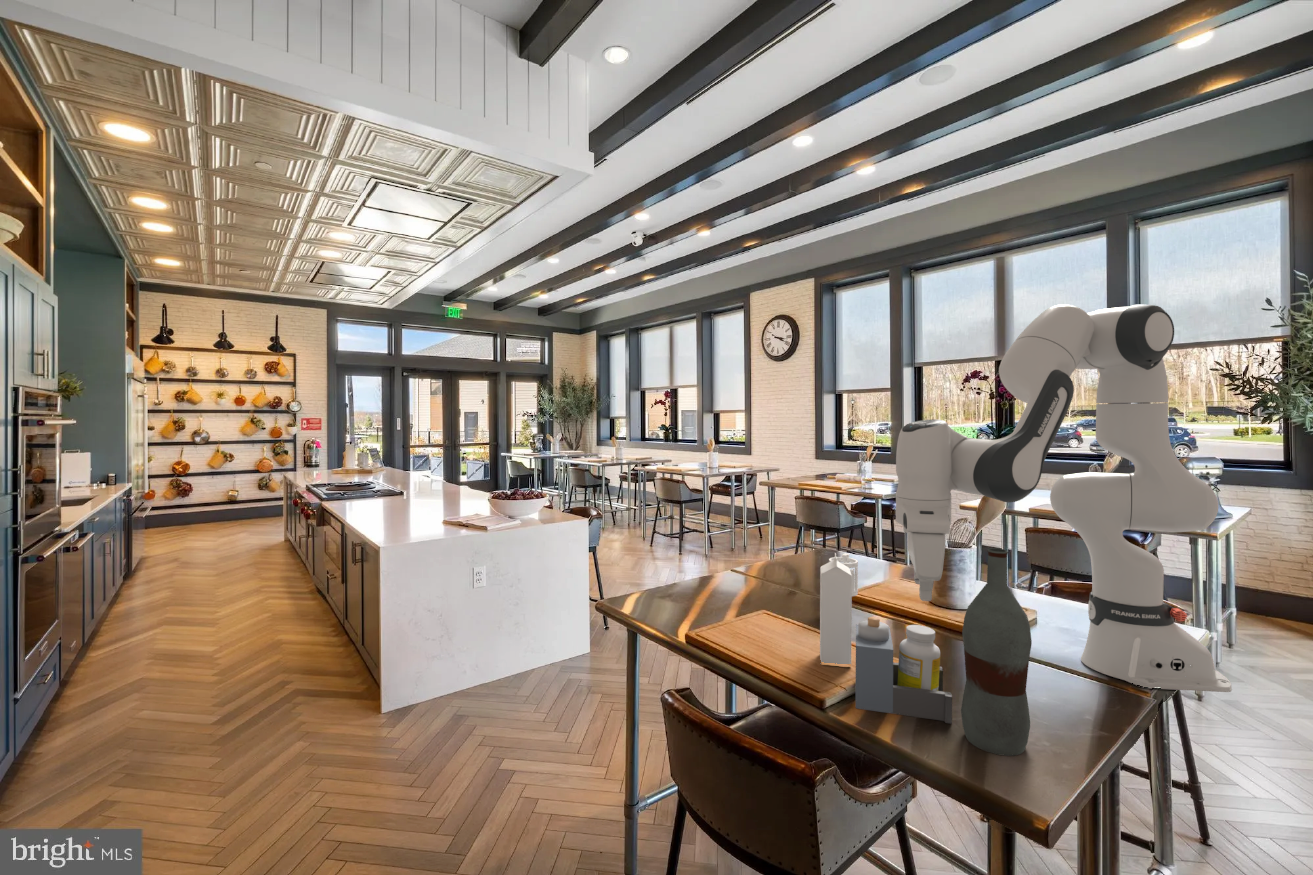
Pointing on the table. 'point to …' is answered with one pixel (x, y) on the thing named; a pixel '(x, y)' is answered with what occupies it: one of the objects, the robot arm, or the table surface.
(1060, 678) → the table surface
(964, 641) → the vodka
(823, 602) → the milk
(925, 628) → the supplement bottle
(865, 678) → the grey bottle caddy
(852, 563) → the white container
